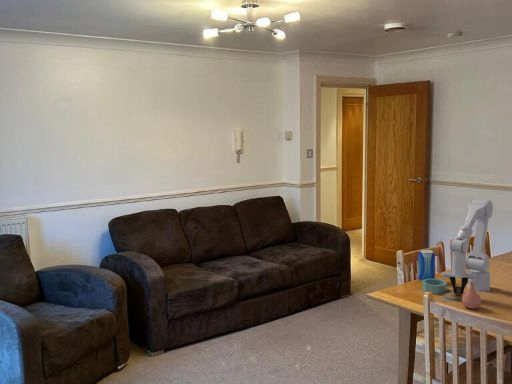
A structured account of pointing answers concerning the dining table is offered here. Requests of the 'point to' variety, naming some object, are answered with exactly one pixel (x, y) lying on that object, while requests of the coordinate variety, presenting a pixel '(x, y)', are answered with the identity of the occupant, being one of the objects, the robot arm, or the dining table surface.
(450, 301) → the mat
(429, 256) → the beer can
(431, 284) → the bowl
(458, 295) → the lid
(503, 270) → the dining table surface
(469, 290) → the perfume bottle
